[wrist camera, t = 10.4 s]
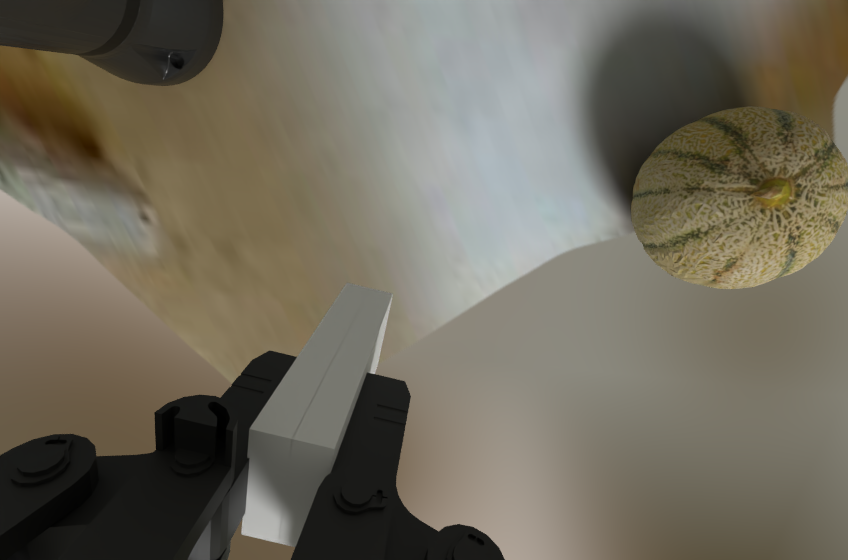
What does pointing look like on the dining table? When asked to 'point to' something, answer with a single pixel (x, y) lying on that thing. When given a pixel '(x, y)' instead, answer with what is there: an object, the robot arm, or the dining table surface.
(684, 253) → the cantaloupe
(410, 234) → the dining table surface
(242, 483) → the robot arm
